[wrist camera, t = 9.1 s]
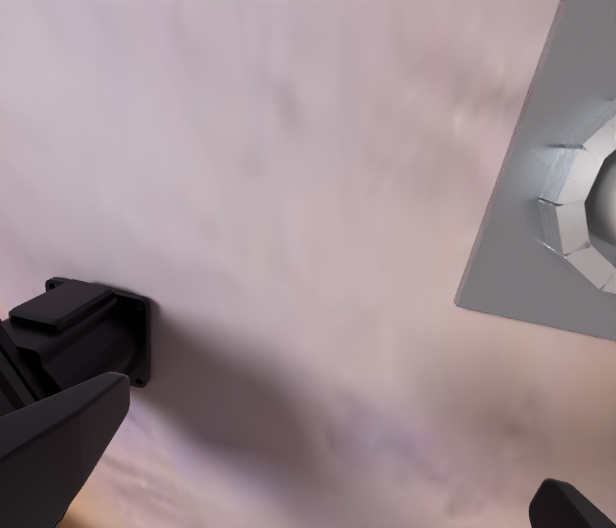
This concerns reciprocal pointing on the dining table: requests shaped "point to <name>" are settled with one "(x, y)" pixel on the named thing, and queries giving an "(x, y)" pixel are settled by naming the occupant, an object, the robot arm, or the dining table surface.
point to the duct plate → (554, 188)
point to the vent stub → (603, 201)
